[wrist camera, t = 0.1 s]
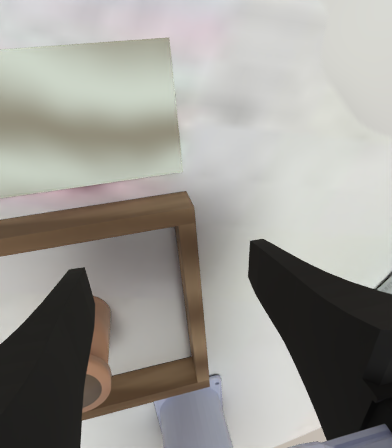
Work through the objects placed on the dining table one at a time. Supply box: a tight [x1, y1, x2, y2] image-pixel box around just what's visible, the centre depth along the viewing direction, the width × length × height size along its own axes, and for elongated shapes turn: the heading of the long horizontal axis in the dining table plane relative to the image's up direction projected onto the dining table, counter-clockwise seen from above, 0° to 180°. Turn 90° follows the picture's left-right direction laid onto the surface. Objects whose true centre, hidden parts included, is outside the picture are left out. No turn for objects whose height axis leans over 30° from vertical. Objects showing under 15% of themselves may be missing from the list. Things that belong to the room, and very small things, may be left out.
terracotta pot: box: [82, 296, 112, 413], centre depth 22 cm, size 5×5×7 cm
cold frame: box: [0, 38, 210, 420], centre depth 21 cm, size 30×20×3 cm
